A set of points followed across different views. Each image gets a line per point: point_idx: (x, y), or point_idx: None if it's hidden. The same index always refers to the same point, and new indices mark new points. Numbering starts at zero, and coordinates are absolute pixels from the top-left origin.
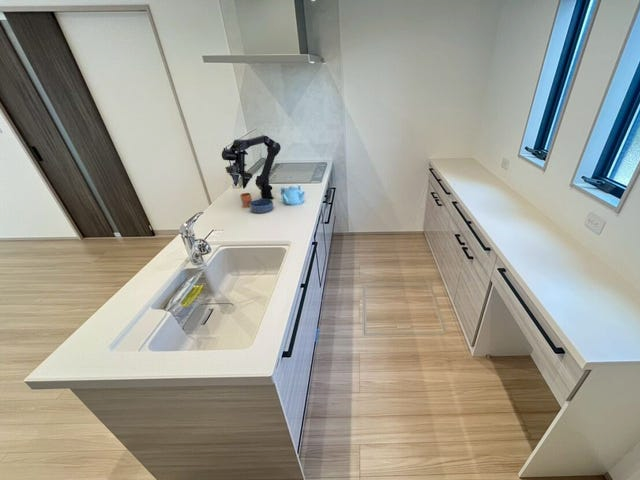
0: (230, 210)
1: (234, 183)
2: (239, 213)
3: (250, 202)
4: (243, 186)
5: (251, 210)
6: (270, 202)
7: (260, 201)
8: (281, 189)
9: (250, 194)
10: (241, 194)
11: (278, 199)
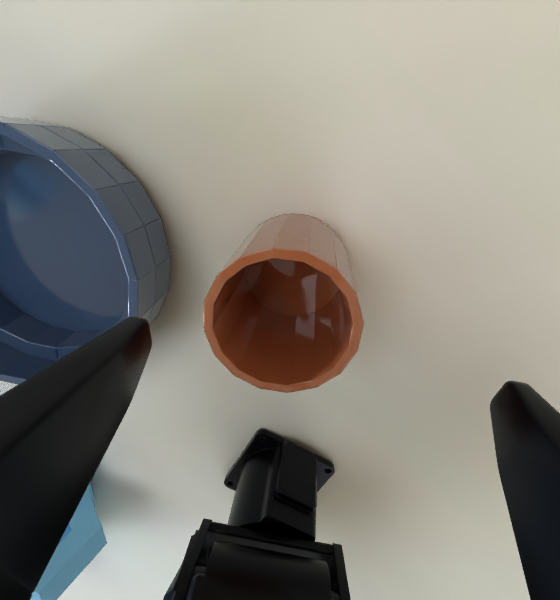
0: (365, 25)
1: (557, 429)
2: (165, 12)
3: (101, 209)
4: (87, 344)
5: (55, 125)
6: (31, 359)
7: None
8: (48, 574)
9: (219, 359)
10: (348, 304)
11: (176, 480)
